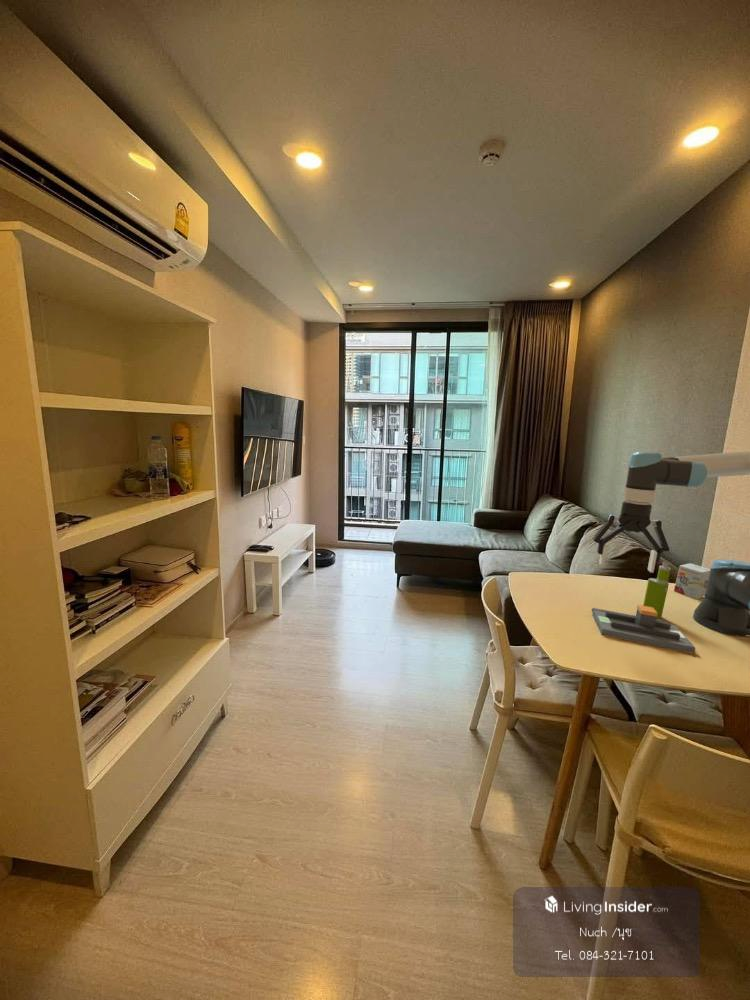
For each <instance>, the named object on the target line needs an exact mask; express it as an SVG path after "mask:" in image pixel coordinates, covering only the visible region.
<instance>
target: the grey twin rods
mask: <svg viewBox="0 0 750 1000" xmlns="http://www.w3.org/2000/svg"><path fill="white" fill-rule="evenodd" d="M593 610H597V611H602V612H605V611H610V612H615V613H621V614H626V615H631V616H636V614H635V615H633V614H628V613H623V612H618V611H613V610H607V609H602V608H596V607H592V608H591V612H592V613H593ZM657 620H658V621H663V622H668V621H666V620H660V619H657Z"/></svg>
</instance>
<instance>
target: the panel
mask: <svg viewBox="0 0 750 1000" xmlns="http://www.w3.org/2000/svg"><path fill="white" fill-rule="evenodd" d="M610 611H611V610H608V611H605V612H602V611H597V610H593V612H592V614H591V616H592V617H593V620H594V622H595V624H596V626H597V628H598V630H599V632H600V635H602V636H605V637H612V638H616V639H621V640H626V641H632V642H635V643H640V644H646V645H650V646H655V647H661V648H665V649H670V650H675V651H680V652H682V653H683V652H684V653H689V654H695V650H696V646H695V645H694V644H693V643H692V642H691V641H690V639H688V637H687V636H686V635H685V634H684V633H683V632H682V631H681V630H680V629H679V627H678V626H677V625H675V624H671V623H670V622H668V621H667V622H663V621H664V620H662V621H658V620H659V619H656V621H655V625H654V628H650V627H644V626H639V625H636V624H635V623H634V622H635V617H636V615H635V616H631V615H632V614H629V615H626V614H627V613H624V614H621V613H622V612H619V613H615V612H616V611H613V612H610Z"/></svg>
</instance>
